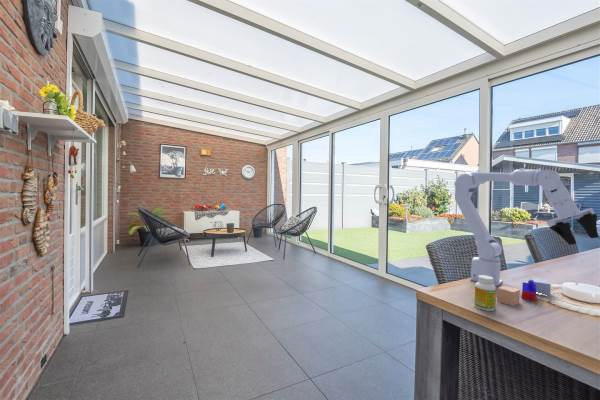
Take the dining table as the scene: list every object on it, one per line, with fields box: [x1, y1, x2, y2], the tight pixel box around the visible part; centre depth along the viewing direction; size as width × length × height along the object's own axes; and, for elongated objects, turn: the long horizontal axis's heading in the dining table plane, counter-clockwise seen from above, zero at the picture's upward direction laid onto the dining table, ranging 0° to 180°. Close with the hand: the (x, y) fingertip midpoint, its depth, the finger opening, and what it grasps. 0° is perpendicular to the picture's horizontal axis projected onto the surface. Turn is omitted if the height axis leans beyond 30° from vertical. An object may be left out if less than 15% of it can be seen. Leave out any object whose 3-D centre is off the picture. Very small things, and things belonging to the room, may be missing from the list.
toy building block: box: [521, 279, 537, 302], centre depth 96 cm, size 4×4×8 cm
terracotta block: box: [496, 285, 521, 307], centre depth 93 cm, size 4×4×4 cm
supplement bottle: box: [473, 275, 497, 312], centre depth 88 cm, size 5×5×10 cm
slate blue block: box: [531, 277, 552, 297], centre depth 101 cm, size 4×4×4 cm
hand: (583, 240), depth 93 cm, fingers open, 7 cm apart
